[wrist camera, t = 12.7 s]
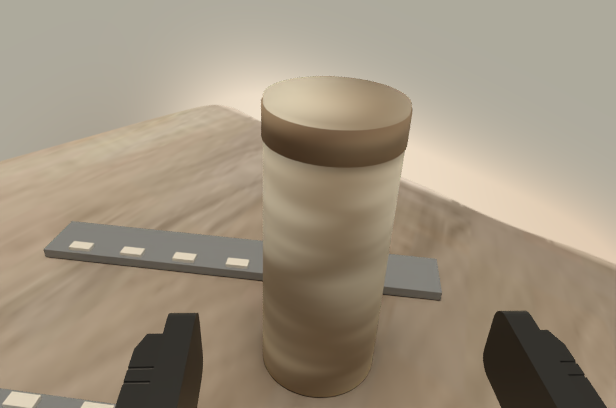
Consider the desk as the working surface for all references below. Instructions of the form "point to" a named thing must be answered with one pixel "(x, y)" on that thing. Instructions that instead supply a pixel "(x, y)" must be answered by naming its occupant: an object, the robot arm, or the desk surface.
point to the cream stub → (327, 225)
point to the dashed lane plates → (195, 259)
